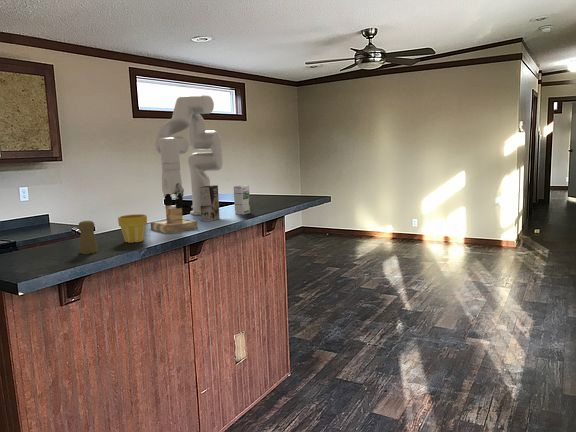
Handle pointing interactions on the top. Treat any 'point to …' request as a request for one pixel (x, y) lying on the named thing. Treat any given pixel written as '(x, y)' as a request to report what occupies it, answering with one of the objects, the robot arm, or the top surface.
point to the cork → (87, 237)
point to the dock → (174, 226)
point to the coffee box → (209, 203)
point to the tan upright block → (173, 214)
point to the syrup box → (242, 199)
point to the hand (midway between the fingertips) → (174, 206)
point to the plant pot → (133, 227)
